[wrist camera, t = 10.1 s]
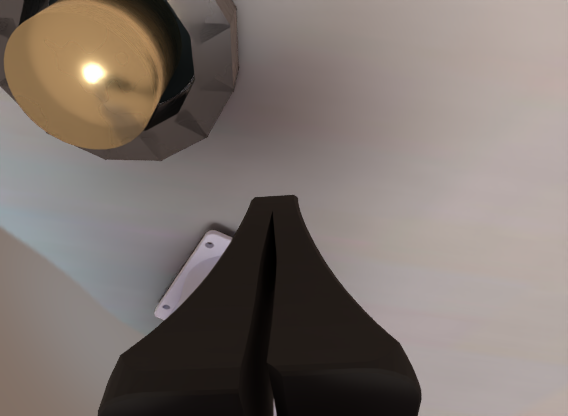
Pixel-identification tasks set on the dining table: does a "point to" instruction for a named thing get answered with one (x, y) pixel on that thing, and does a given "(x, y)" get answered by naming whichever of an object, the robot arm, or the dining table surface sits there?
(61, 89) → the gold metal cylinder
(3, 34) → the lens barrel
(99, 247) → the dining table surface
